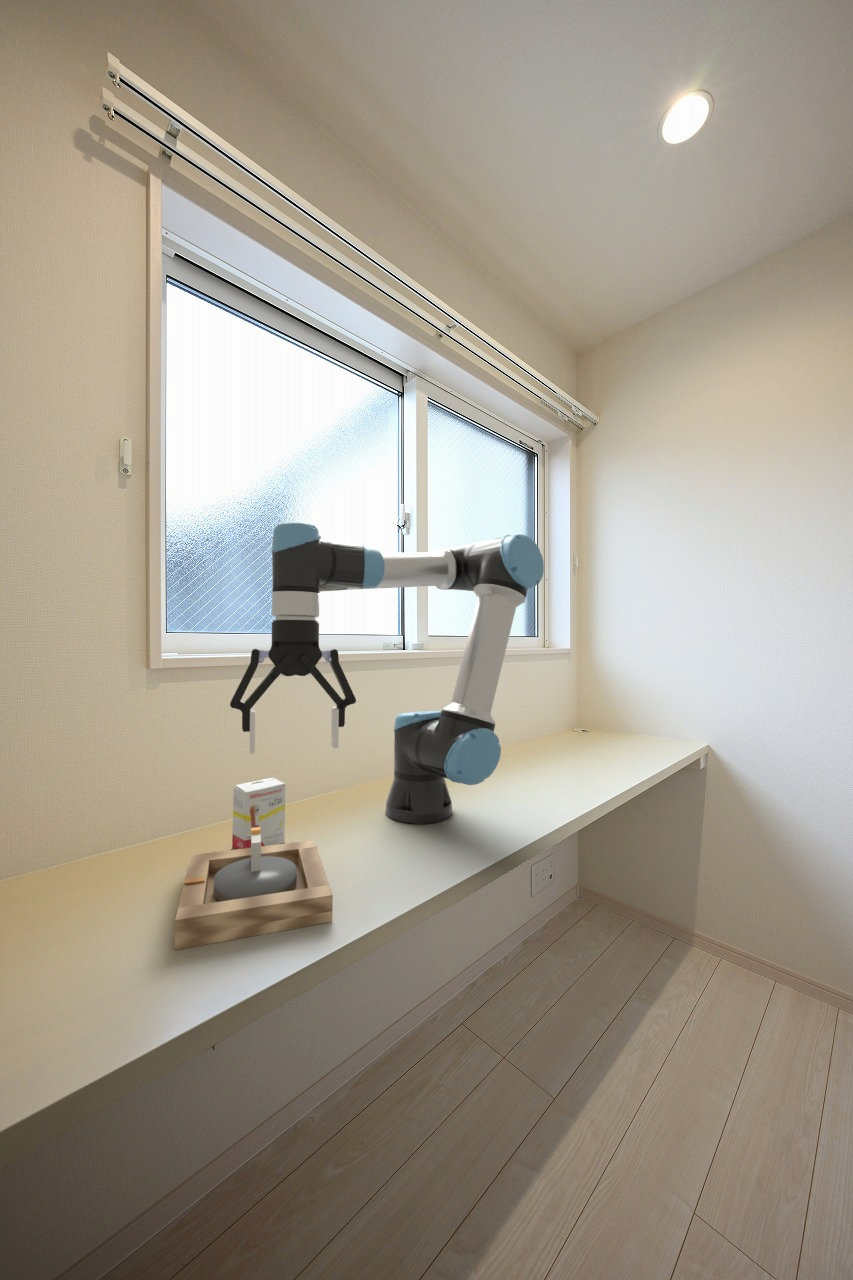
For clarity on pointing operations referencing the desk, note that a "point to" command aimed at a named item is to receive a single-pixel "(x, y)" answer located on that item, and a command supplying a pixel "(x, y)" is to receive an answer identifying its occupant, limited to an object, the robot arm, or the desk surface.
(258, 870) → the dial
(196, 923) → the wooden tray
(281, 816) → the ink box
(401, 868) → the desk surface
